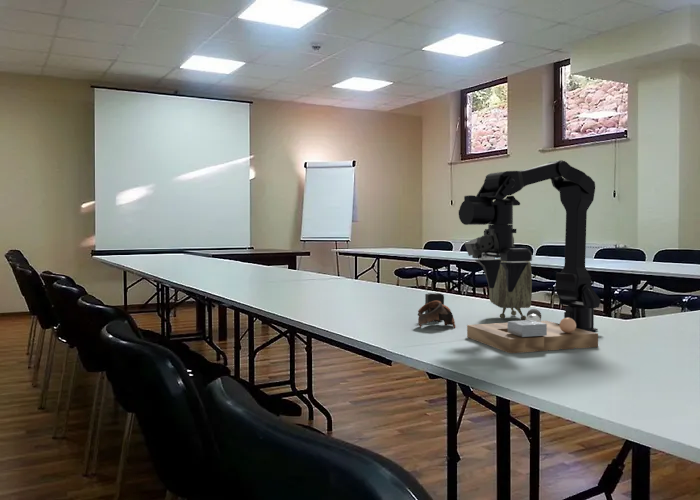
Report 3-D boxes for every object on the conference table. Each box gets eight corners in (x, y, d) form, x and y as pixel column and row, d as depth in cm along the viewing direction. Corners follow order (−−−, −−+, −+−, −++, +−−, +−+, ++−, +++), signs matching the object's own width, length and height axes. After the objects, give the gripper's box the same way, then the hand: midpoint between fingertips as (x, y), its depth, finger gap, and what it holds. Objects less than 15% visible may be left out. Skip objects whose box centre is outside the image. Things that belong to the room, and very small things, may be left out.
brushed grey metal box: (531, 330, 134) (531, 319, 134) (546, 335, 128) (546, 323, 128) (507, 332, 132) (507, 321, 132) (522, 336, 126) (522, 325, 126)
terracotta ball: (569, 331, 134) (569, 316, 134) (579, 334, 131) (579, 318, 131) (556, 332, 133) (556, 316, 133) (565, 334, 130) (565, 319, 130)
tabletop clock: (531, 322, 166) (531, 233, 165) (499, 322, 166) (499, 234, 166) (517, 315, 181) (517, 233, 180) (488, 315, 181) (488, 233, 180)
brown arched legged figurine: (460, 331, 155) (446, 306, 154) (428, 346, 157) (414, 321, 155) (454, 314, 167) (441, 289, 165) (424, 328, 169) (411, 304, 167)
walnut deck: (545, 332, 151) (545, 320, 150) (598, 346, 131) (598, 333, 131) (467, 337, 145) (467, 324, 145) (509, 353, 126) (509, 339, 125)
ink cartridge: (440, 319, 173) (441, 292, 173) (443, 321, 171) (444, 293, 171) (424, 320, 172) (425, 293, 172) (427, 321, 170) (428, 293, 170)
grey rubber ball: (536, 321, 149) (536, 307, 149) (544, 323, 146) (544, 309, 145) (523, 322, 148) (523, 308, 148) (531, 324, 145) (531, 310, 144)
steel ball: (535, 327, 140) (535, 312, 140) (544, 329, 137) (544, 314, 137) (522, 328, 139) (522, 313, 139) (530, 330, 136) (530, 315, 136)
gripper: (453, 225, 148) (453, 287, 148) (487, 224, 130) (488, 295, 130) (493, 225, 150) (493, 286, 151) (533, 224, 132) (533, 293, 133)
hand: (500, 289), depth 141 cm, fingers open, 9 cm apart
